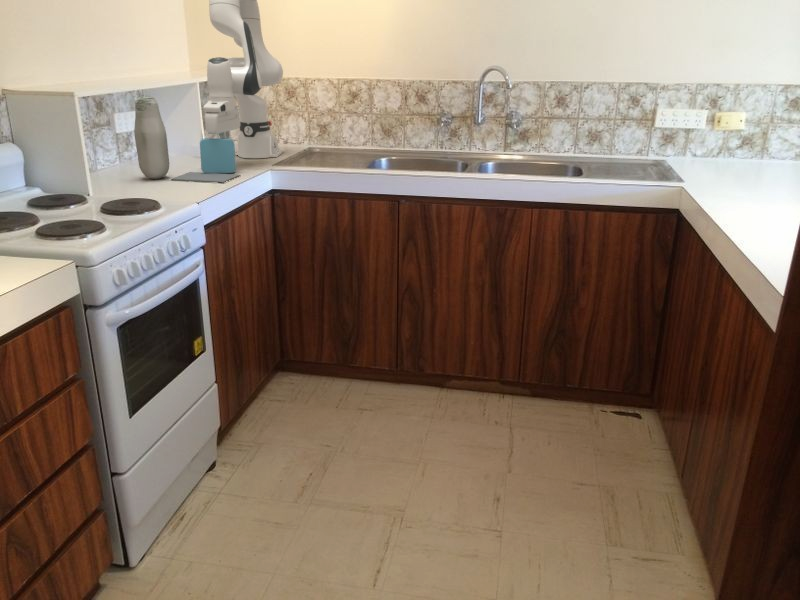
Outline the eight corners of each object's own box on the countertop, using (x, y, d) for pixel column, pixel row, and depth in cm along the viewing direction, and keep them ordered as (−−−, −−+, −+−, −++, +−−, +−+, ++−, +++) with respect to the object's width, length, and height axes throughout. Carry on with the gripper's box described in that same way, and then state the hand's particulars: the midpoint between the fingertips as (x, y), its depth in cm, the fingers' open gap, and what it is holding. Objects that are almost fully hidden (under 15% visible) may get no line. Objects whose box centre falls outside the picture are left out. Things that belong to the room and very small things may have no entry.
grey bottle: (144, 175, 241) (133, 94, 231) (174, 175, 242) (164, 94, 232) (137, 181, 232) (125, 97, 222) (167, 181, 233) (157, 96, 223)
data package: (235, 171, 250) (233, 138, 246) (235, 173, 246) (234, 139, 242) (201, 171, 247) (199, 138, 243) (201, 173, 243) (199, 139, 239)
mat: (190, 173, 246) (189, 172, 246) (240, 176, 242) (240, 174, 241) (170, 180, 234) (170, 178, 234) (223, 183, 230) (223, 181, 230)
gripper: (227, 102, 254) (230, 139, 259) (200, 107, 236) (204, 147, 241) (242, 103, 253) (245, 140, 258) (217, 108, 235) (220, 148, 240)
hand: (225, 143), depth 249 cm, fingers closed
